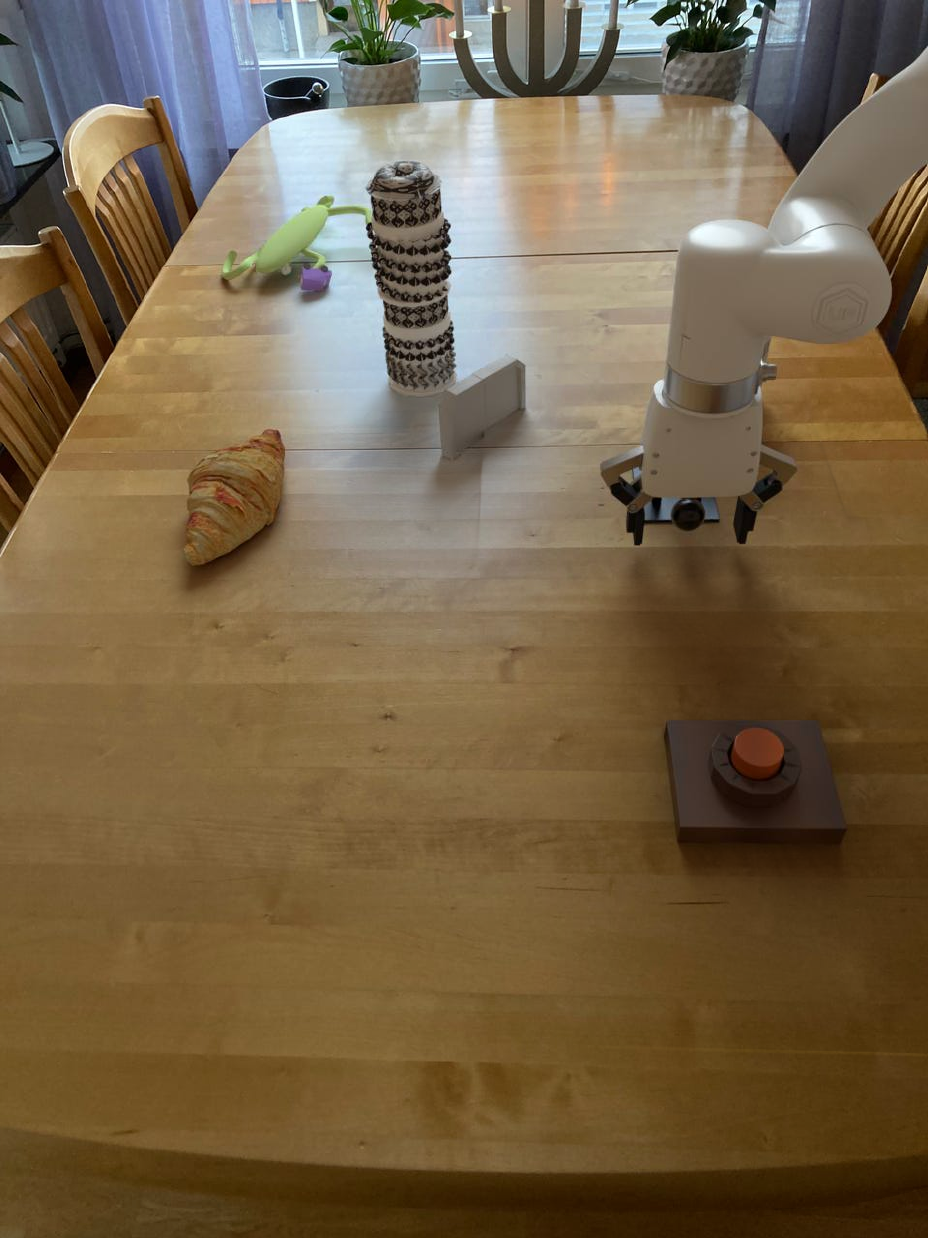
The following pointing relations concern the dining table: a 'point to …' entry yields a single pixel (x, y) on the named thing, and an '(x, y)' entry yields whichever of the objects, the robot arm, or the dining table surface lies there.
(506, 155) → the dining table surface
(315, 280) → the figurine
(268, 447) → the croissant
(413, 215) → the decorative candle
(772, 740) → the button
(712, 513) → the switch bracket
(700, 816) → the button housing
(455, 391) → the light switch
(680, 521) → the switch lever
